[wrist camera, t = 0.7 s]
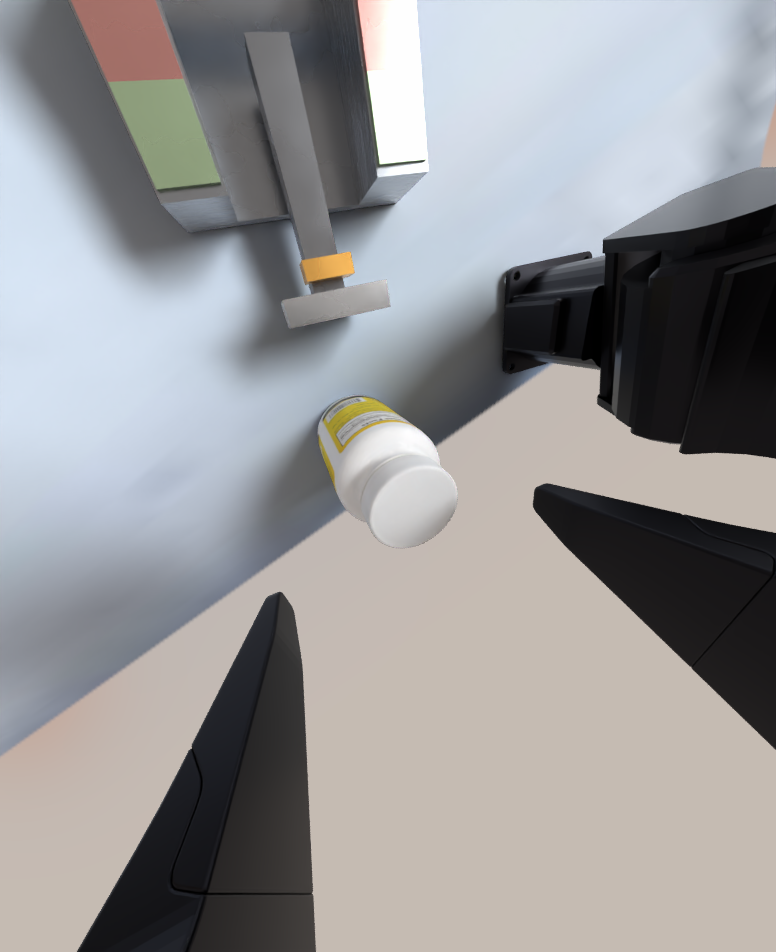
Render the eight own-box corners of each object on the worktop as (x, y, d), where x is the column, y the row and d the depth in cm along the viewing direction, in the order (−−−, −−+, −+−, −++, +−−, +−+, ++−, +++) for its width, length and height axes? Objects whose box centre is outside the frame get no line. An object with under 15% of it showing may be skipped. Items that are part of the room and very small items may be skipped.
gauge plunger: (325, 73, 11) (342, -14, 8) (369, 309, 15) (390, 306, 12) (205, 78, 10) (177, -18, 7) (288, 327, 14) (291, 328, 11)
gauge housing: (367, -39, 11) (412, -215, 7) (396, 202, 14) (435, 163, 11) (65, -50, 9) (-76, -301, 5) (188, 232, 12) (154, 197, 9)
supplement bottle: (376, 474, 21) (436, 566, 13) (306, 457, 19) (328, 557, 11) (404, 408, 20) (494, 468, 12) (332, 379, 17) (382, 430, 9)
